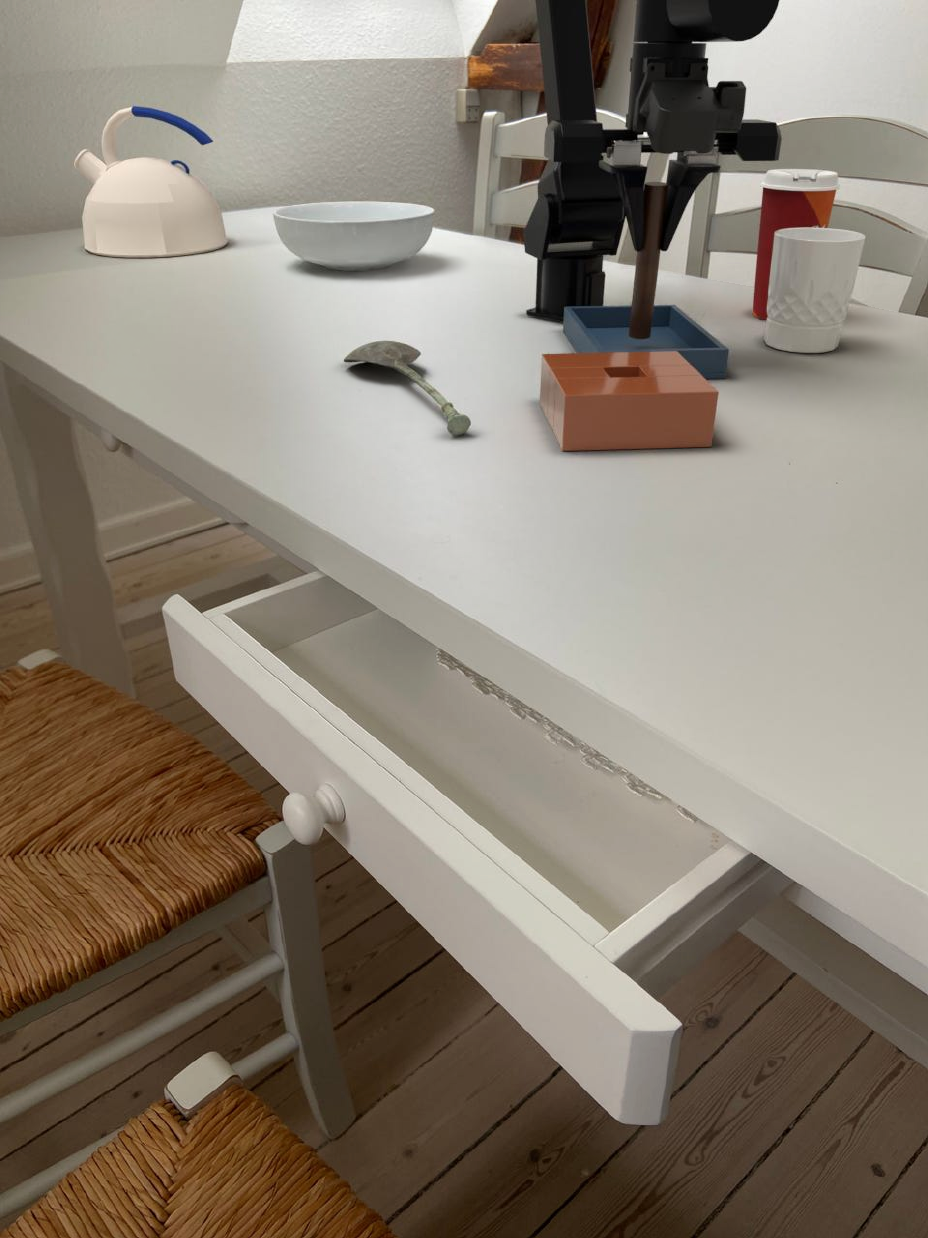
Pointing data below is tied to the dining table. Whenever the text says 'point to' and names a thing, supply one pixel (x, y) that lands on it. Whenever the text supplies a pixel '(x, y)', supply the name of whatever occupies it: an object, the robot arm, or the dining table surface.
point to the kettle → (147, 199)
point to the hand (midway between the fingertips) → (650, 250)
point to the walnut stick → (648, 260)
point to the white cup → (811, 287)
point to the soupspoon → (398, 359)
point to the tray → (668, 333)
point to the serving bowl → (354, 232)
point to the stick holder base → (626, 401)
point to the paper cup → (789, 216)
